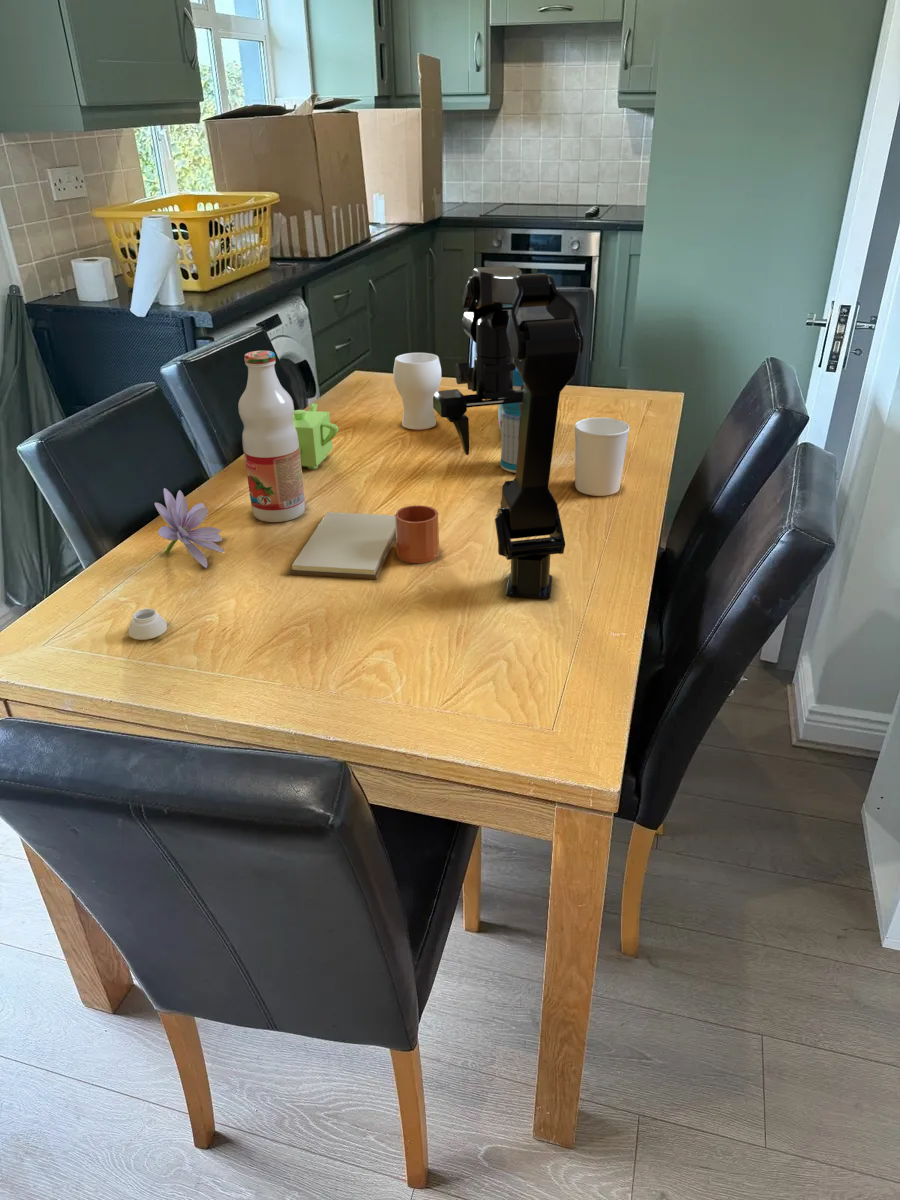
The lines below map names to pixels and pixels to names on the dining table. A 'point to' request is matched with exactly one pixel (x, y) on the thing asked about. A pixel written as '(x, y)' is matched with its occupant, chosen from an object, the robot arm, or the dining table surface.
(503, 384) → the robot arm
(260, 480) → the fruit juice
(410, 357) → the cup
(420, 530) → the pot
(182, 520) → the water lily
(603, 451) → the white tumbler
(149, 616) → the lidless jar
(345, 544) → the tile
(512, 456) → the beverage bottle
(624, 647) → the dining table surface
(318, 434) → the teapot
